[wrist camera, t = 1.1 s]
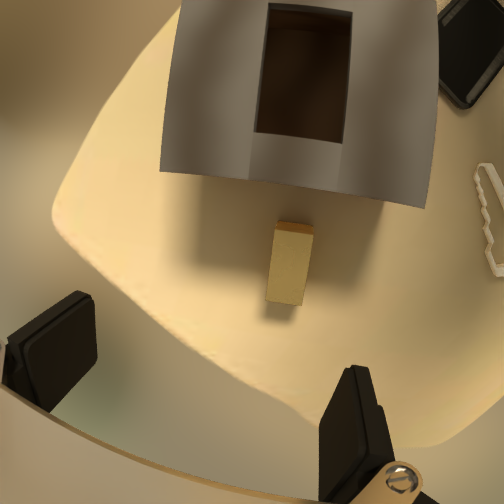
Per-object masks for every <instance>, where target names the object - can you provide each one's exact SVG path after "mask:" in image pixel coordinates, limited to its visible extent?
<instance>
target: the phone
mask: <svg viewBox="0 0 504 504" xmlns="http://www.w3.org/2000/svg"><path fill="white" fill-rule="evenodd" d="M437 19H438V40H439V81H438V87H439V89H440V90H441V91H442V92H443V93H444V94H445V95H446V96H447V97H448V98H449V99H450V101H451V102H452V103H453V104H454V105H455V106H456V107H457V108H459V109H463V110H464V109H468V108H471V107H472V106H473V105H474V104H475V102H476V101H477V100H478V98H479V97H480V96H481V95H482V93H483V92H484V91H485V89H486V88H487V87H488V86H489V84H490V83H491V82H492V80H493V79H494V78H495V76H496V75H497V74H498V72H499V71H500V70H501V68H502V67H503V65H504V8H503V7H502V6H501V5H500V3H499V2H498V1H497V0H452V1H451V2H450V3H449V4H448V5H447V6H446V7H445V8H444V9H443V10H442V11H441V12H440V13H439V14H438V15H437Z"/></svg>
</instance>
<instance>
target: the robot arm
mask: <svg viewBox="0 0 504 504" xmlns="http://www.w3.org/2000/svg"><path fill="white" fill-rule="evenodd" d="M7 339H8V344H7V345H5V344H4V342H3V341H2V340H1V339H0V504H439V503H437V502H436V501H435V500H433V499H431V498H430V497H429V496H427V495H426V494H424V493H423V492H422V491H421V488H422V486H423V479H422V476H421V474H420V472H419V471H418V470H417V469H416V468H415V467H413V466H412V465H411V464H408V463H406V462H401V461H395V457H394V452H393V448H392V443H391V439H390V435H389V430H388V426H387V422H386V418H385V414H384V410H383V407H382V406H381V405H378V404H377V400H376V396H375V391H374V388H373V384H372V380H371V376H370V372H369V369H368V367H364V366H358V365H351V367H350V368H345V369H344V371H343V374H342V376H341V378H340V380H339V383H338V385H337V387H336V389H335V391H334V393H333V396H332V398H331V400H330V402H329V404H328V406H327V408H326V410H325V412H324V414H323V416H322V418H321V421H320V424H319V496H318V498H319V501H313V500H306V499H298V498H292V497H285V496H279V495H273V494H268V493H263V492H258V491H253V490H248V489H243V488H238V487H234V486H230V485H226V484H222V483H218V482H214V481H210V480H207V479H203V478H200V477H196V476H193V475H189V474H187V473H183V472H180V471H177V470H174V469H171V468H168V467H165V466H162V465H159V464H157V463H154V462H151V461H149V460H146V459H143V458H141V457H138V456H136V455H133V454H131V453H128V452H126V451H124V450H121V449H119V448H117V447H114V446H112V445H110V444H108V443H105V442H103V441H101V440H99V439H97V438H95V437H93V436H91V435H89V434H87V433H85V432H83V431H81V430H79V429H77V428H75V427H73V426H71V425H69V424H67V423H66V422H64V421H62V420H60V419H58V418H57V417H55V416H53V415H51V414H50V412H51V411H52V410H53V409H54V408H55V406H56V405H57V404H58V403H59V402H60V401H61V400H62V399H63V398H64V397H65V396H66V394H67V393H68V392H69V391H70V390H71V389H72V388H73V387H74V386H75V385H76V384H77V383H78V381H79V380H80V379H81V378H82V377H83V376H84V375H85V374H86V373H87V372H88V371H89V370H90V369H91V367H92V366H94V364H95V363H96V361H97V343H96V328H95V304H94V301H93V300H92V297H91V295H89V294H87V293H84V292H81V291H78V290H77V291H75V292H73V293H72V294H70V295H68V296H67V297H65V298H64V299H62V300H61V301H59V302H58V303H57V304H55V305H53V306H52V307H50V308H49V309H47V310H46V311H44V312H43V313H42V314H40V315H39V316H37V317H36V318H34V319H33V320H31V321H30V322H28V323H27V324H26V325H24V326H23V327H21V328H20V329H18V330H17V331H16V332H14V333H13V334H11V335H10V336H9V337H7Z"/></svg>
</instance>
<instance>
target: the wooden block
mask: <svg viewBox="0 0 504 504" xmlns="http://www.w3.org/2000/svg"><path fill="white" fill-rule="evenodd" d="M313 237H314V232H313V226H311V225H304V224H298V223H291V222H284V221H278V222H277V225H276V227H275V231H274V239H273V246H272V254H271V262H270V269H269V277H268V284H267V291H266V299H265V300H266V301H272V302H278V303H285V304H291V305H298V306H302V300H303V295H304V290H305V284H306V279H307V273H308V267H309V261H310V256H311V250H312V243H313Z"/></svg>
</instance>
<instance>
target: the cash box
mask: <svg viewBox="0 0 504 504" xmlns="http://www.w3.org/2000/svg"><path fill="white" fill-rule="evenodd" d="M438 81H439V40H438V19H437V5H436V1H435V0H182V4H181V9H180V14H179V20H178V25H177V30H176V36H175V42H174V48H173V54H172V61H171V67H170V74H169V82H168V89H167V97H166V106H165V114H164V124H163V134H162V145H161V158H160V172H172V173H185V174H196V175H207V176H217V177H227V178H236V179H245V180H253V181H262V182H270V183H277V184H285V185H292V186H299V187H306V188H313V189H319V190H326V191H332V192H338V193H344V194H350V195H356V196H362V197H367V198H373V199H378V200H383V201H389V202H394V203H399V204H404V205H409V206H413V207H418V208H423V209H425V203H426V198H427V192H428V186H429V179H430V173H431V165H432V158H433V150H434V141H435V131H436V119H437V104H438Z"/></svg>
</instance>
